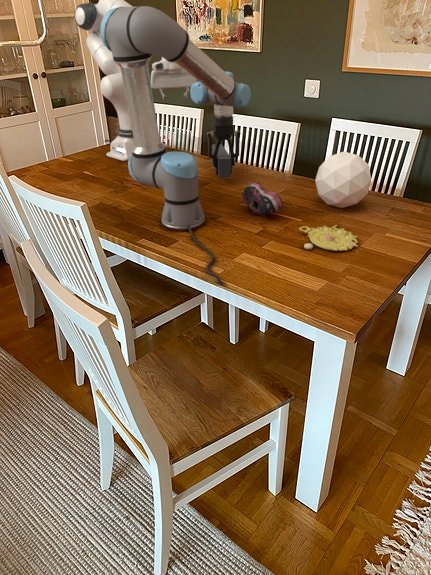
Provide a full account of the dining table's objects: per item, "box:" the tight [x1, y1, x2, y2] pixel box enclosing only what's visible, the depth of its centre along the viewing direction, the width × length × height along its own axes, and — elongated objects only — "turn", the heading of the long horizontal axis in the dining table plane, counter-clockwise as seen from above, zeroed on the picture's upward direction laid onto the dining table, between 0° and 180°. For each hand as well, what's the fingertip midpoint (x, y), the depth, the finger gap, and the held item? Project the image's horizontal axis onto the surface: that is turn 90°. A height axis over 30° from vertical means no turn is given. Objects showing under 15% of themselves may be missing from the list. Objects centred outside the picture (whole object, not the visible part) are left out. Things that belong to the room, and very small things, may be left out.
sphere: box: [314, 151, 372, 209], centre depth 160 cm, size 19×20×20 cm
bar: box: [210, 143, 232, 179], centre depth 191 cm, size 24×5×8 cm, turn 9°
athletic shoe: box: [238, 182, 284, 217], centre depth 160 cm, size 11×22×12 cm
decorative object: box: [299, 224, 359, 252], centre depth 141 cm, size 21×2×20 cm
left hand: (174, 98), depth 197 cm, fingers open, 8 cm apart
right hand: (223, 173), depth 185 cm, fingers closed on bar, 5 cm apart
